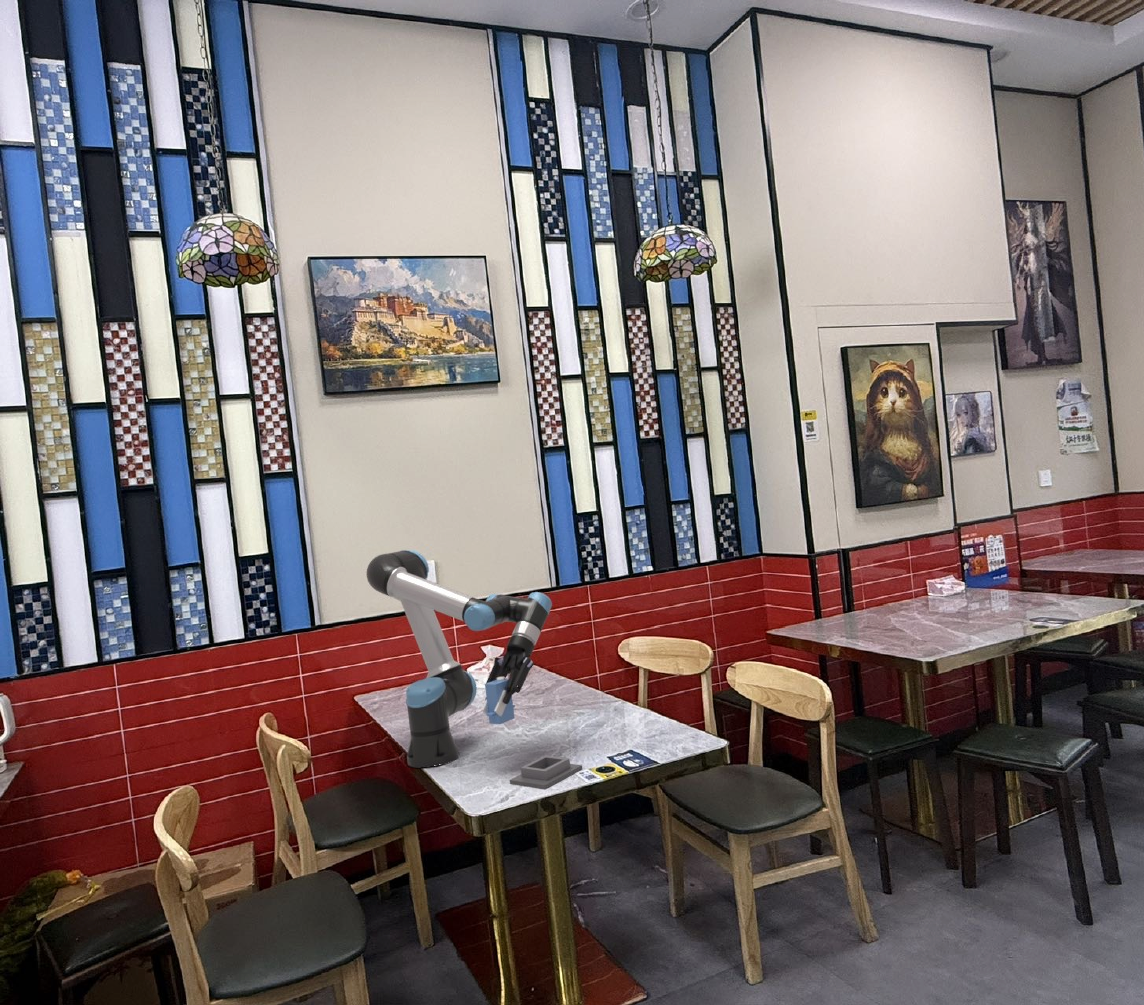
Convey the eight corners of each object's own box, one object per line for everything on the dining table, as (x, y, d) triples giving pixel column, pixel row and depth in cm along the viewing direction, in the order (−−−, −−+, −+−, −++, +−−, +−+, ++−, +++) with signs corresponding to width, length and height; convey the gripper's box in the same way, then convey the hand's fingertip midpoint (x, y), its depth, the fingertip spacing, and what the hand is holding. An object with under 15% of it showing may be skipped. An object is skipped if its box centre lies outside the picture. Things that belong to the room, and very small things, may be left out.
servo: (495, 726, 226) (490, 683, 226) (485, 725, 229) (480, 682, 229) (518, 716, 234) (513, 674, 234) (508, 715, 236) (503, 674, 236)
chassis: (545, 789, 211) (543, 775, 211) (510, 783, 219) (508, 770, 219) (582, 768, 224) (580, 755, 224) (548, 764, 231) (546, 751, 231)
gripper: (552, 648, 238) (522, 721, 225) (508, 647, 249) (476, 718, 236) (538, 633, 234) (507, 707, 221) (494, 633, 244) (461, 704, 231)
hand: (491, 712), depth 228 cm, fingers closed on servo, 4 cm apart
